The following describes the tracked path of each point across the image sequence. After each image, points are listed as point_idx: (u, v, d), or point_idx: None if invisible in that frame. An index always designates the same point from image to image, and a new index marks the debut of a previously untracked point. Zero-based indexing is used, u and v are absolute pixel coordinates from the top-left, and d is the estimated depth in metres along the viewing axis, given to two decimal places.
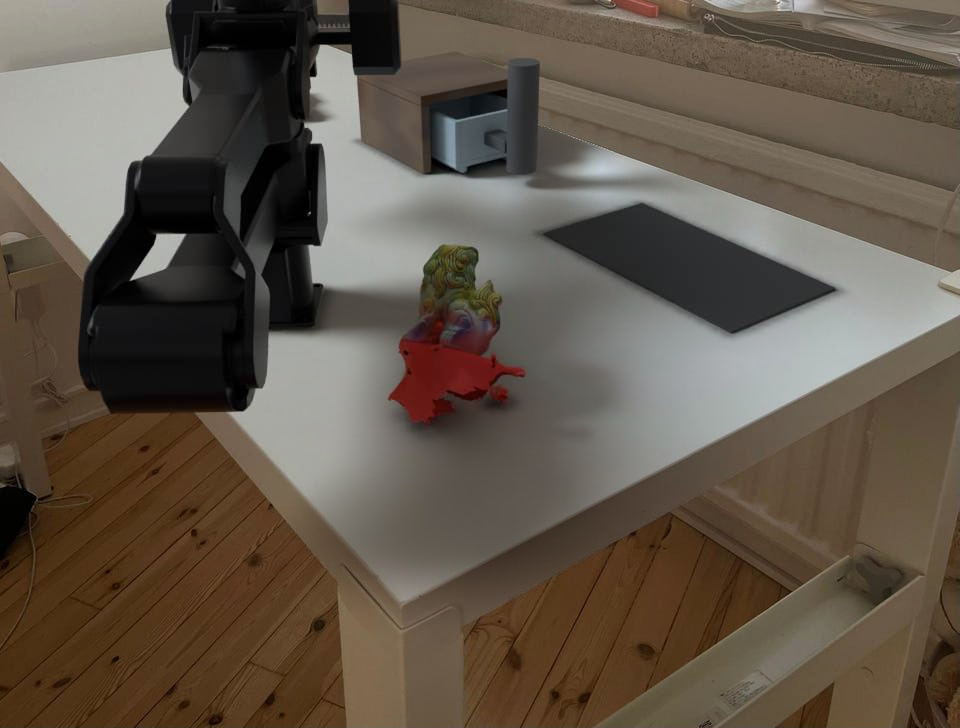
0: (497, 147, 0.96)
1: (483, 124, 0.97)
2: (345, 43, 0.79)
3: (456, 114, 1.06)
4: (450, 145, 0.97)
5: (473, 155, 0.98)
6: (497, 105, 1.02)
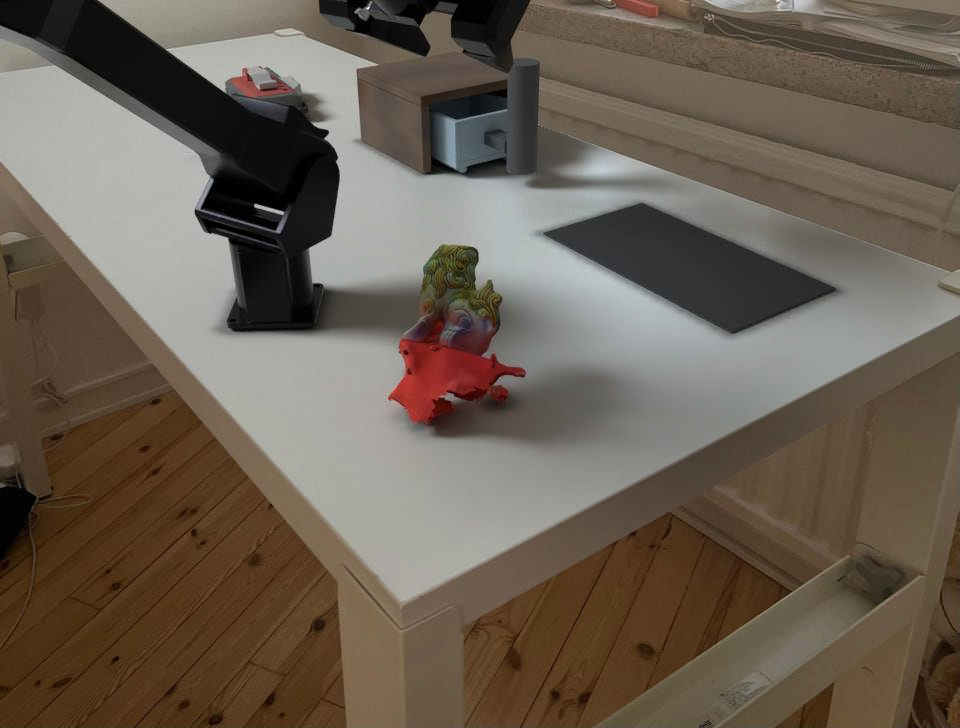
0: (497, 147, 0.96)
1: (483, 124, 0.97)
2: (458, 3, 0.73)
3: (456, 114, 1.06)
4: (450, 145, 0.97)
5: (473, 155, 0.98)
6: (497, 105, 1.02)
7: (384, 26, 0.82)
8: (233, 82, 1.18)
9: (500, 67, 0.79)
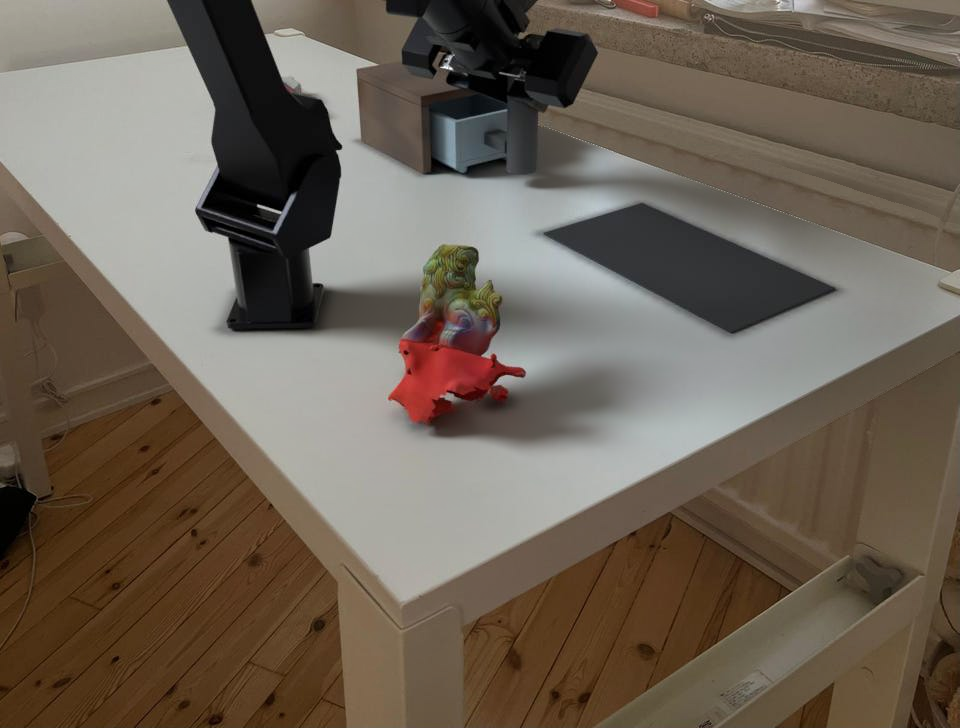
0: (497, 147, 0.96)
1: (483, 124, 0.97)
2: (531, 59, 0.83)
3: (456, 114, 1.06)
4: (450, 145, 0.97)
5: (473, 155, 0.98)
6: (497, 105, 1.02)
7: (483, 80, 0.90)
8: None
9: (538, 108, 0.90)
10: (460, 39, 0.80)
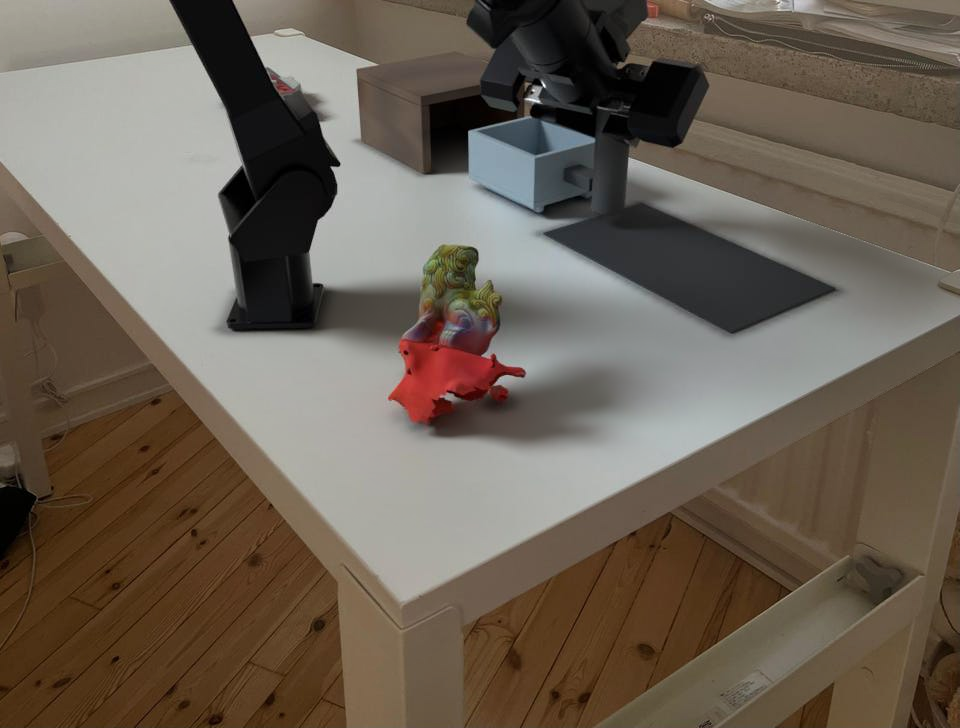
0: (579, 184, 0.87)
1: (563, 160, 0.88)
2: (634, 93, 0.74)
3: (524, 146, 0.97)
4: (527, 183, 0.87)
5: (551, 193, 0.89)
6: (571, 137, 0.93)
7: (571, 113, 0.81)
8: None
9: (631, 144, 0.81)
10: (559, 71, 0.71)
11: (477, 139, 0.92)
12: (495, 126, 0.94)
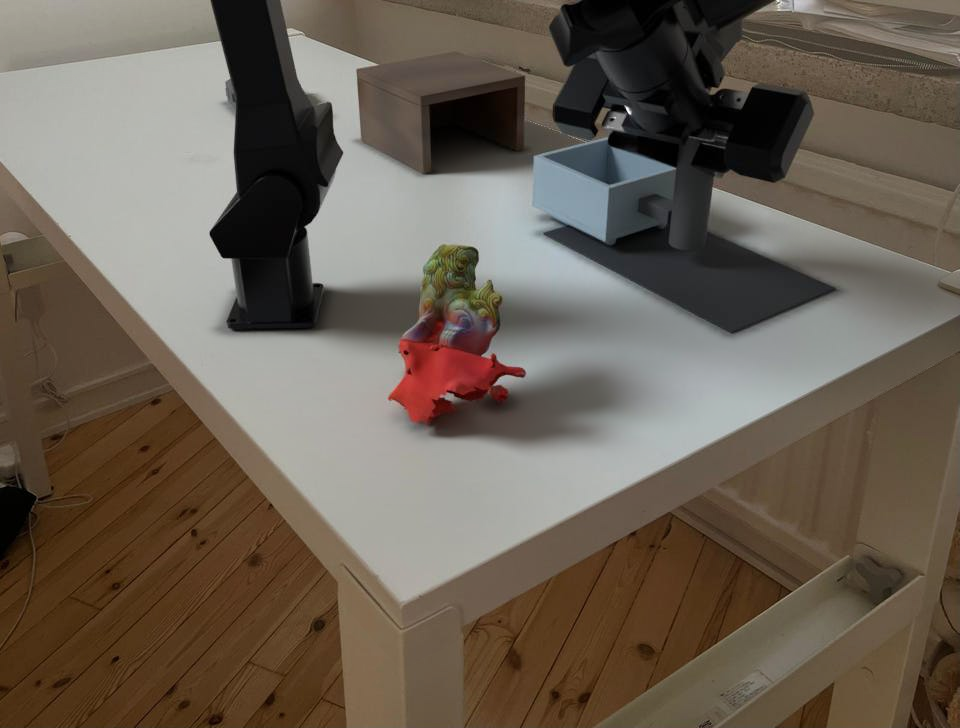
0: (656, 216, 0.80)
1: (638, 189, 0.81)
2: (731, 122, 0.67)
3: (591, 171, 0.90)
4: (599, 214, 0.81)
5: (625, 225, 0.82)
6: (644, 163, 0.87)
7: (653, 142, 0.74)
8: None
9: (718, 175, 0.74)
10: (651, 99, 0.64)
11: (543, 165, 0.85)
12: (562, 151, 0.87)
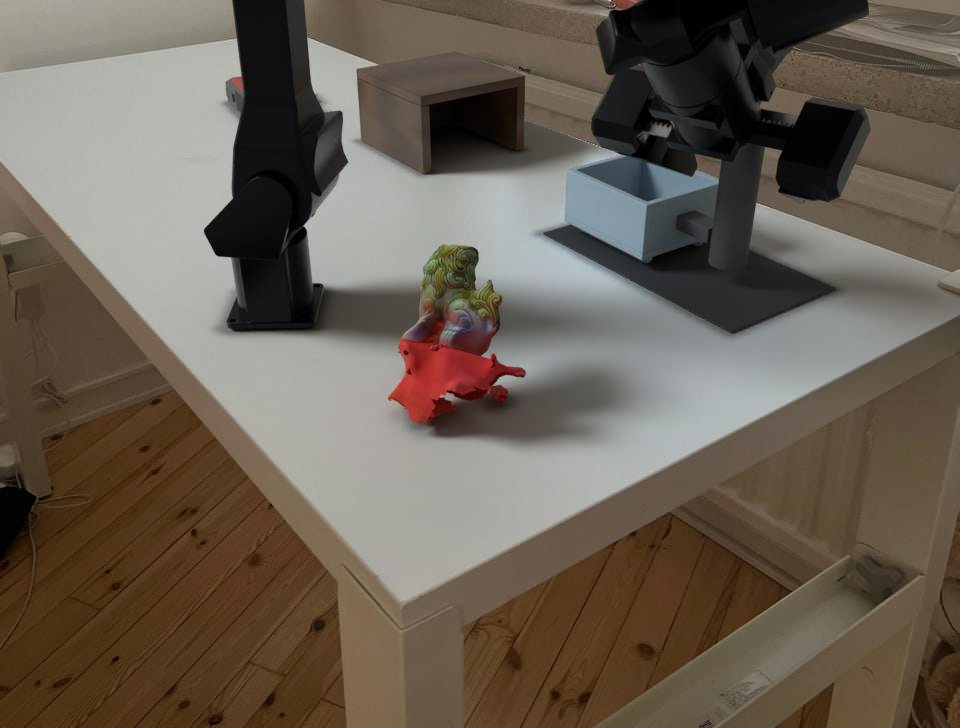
0: (695, 234, 0.77)
1: (677, 206, 0.78)
2: (783, 138, 0.64)
3: (625, 185, 0.87)
4: (636, 231, 0.78)
5: (662, 243, 0.79)
6: (681, 177, 0.83)
7: (662, 149, 0.72)
8: (233, 82, 1.18)
9: (803, 201, 0.70)
10: (701, 114, 0.61)
11: (577, 179, 0.82)
12: (596, 164, 0.84)
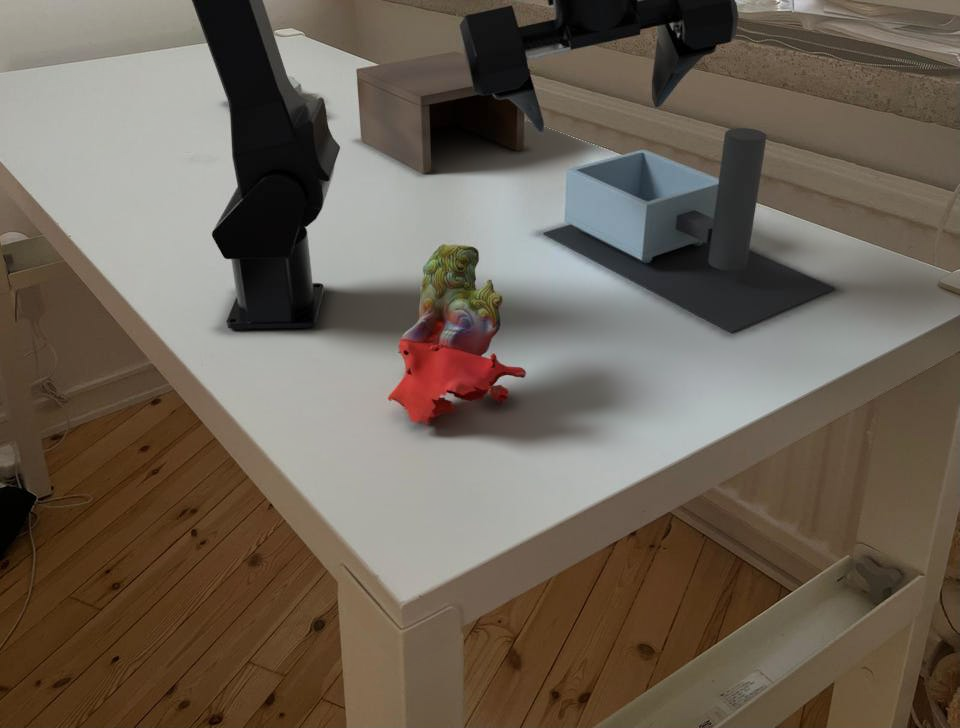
0: (695, 234, 0.77)
1: (677, 206, 0.78)
2: (667, 3, 0.66)
3: (625, 185, 0.87)
4: (636, 231, 0.78)
5: (662, 243, 0.79)
6: (681, 177, 0.83)
7: None
8: None
9: (671, 90, 0.72)
10: None
11: (577, 179, 0.82)
12: (596, 164, 0.84)
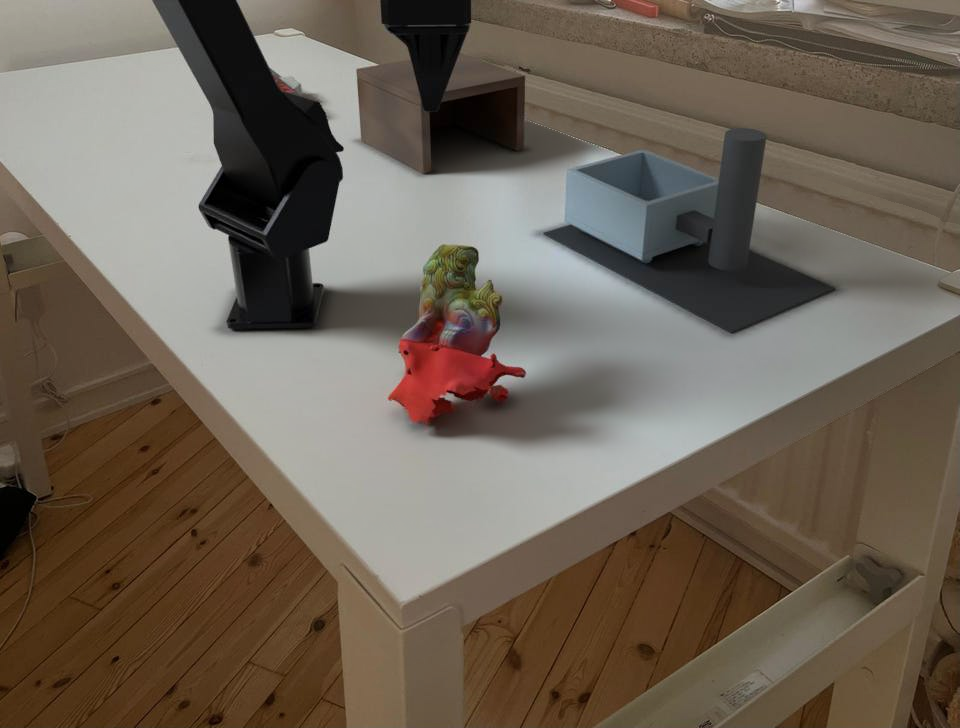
0: (695, 234, 0.77)
1: (677, 206, 0.78)
2: None
3: (625, 185, 0.87)
4: (636, 231, 0.78)
5: (662, 243, 0.79)
6: (681, 177, 0.83)
7: None
8: None
9: None
10: None
11: (577, 179, 0.82)
12: (596, 164, 0.84)
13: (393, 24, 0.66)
